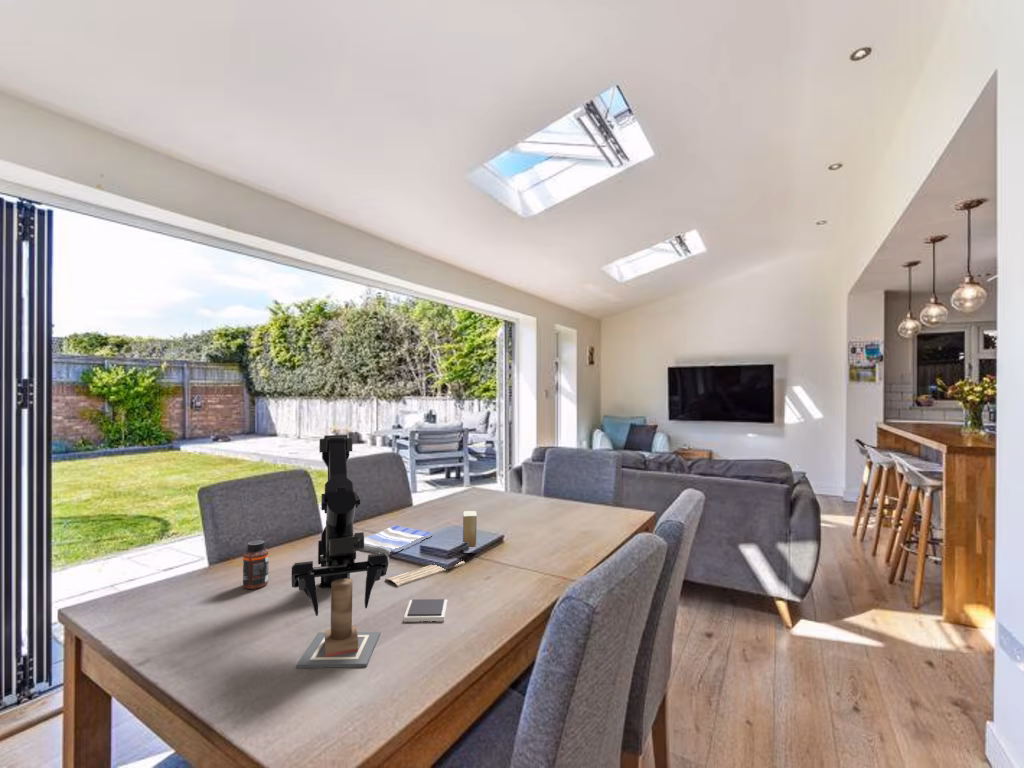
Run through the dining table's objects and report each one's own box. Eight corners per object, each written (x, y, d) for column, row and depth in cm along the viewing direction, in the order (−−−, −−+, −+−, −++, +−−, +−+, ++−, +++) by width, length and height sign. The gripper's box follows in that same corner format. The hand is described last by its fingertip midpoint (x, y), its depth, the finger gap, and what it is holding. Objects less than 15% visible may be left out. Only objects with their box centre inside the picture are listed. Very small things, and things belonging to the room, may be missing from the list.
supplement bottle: (273, 583, 130) (274, 540, 131) (253, 591, 125) (253, 547, 125) (257, 579, 133) (258, 537, 133) (237, 587, 128) (238, 543, 128)
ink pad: (403, 621, 110) (403, 615, 110) (410, 604, 119) (410, 598, 119) (444, 621, 111) (444, 615, 111) (447, 603, 120) (447, 597, 120)
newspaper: (397, 590, 129) (397, 583, 129) (382, 582, 134) (382, 575, 134) (465, 566, 146) (465, 560, 146) (449, 560, 151) (449, 554, 151)
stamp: (324, 641, 100) (325, 578, 100) (355, 636, 102) (356, 574, 102) (325, 657, 95) (326, 590, 94) (357, 651, 97) (358, 586, 97)
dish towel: (347, 549, 160) (347, 540, 160) (396, 530, 181) (396, 523, 181) (389, 558, 152) (389, 549, 152) (434, 538, 173) (434, 530, 173)
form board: (296, 667, 92) (296, 664, 92) (318, 635, 104) (318, 632, 104) (366, 666, 93) (366, 663, 93) (380, 634, 104) (380, 631, 104)
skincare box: (462, 547, 161) (463, 510, 161) (476, 547, 161) (476, 510, 161) (462, 554, 154) (462, 515, 154) (476, 554, 155) (476, 515, 155)
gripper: (292, 523, 98) (289, 601, 88) (387, 515, 105) (394, 586, 95) (293, 550, 106) (290, 625, 95) (382, 541, 113) (388, 610, 102)
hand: (342, 611), depth 97 cm, fingers open, 9 cm apart
